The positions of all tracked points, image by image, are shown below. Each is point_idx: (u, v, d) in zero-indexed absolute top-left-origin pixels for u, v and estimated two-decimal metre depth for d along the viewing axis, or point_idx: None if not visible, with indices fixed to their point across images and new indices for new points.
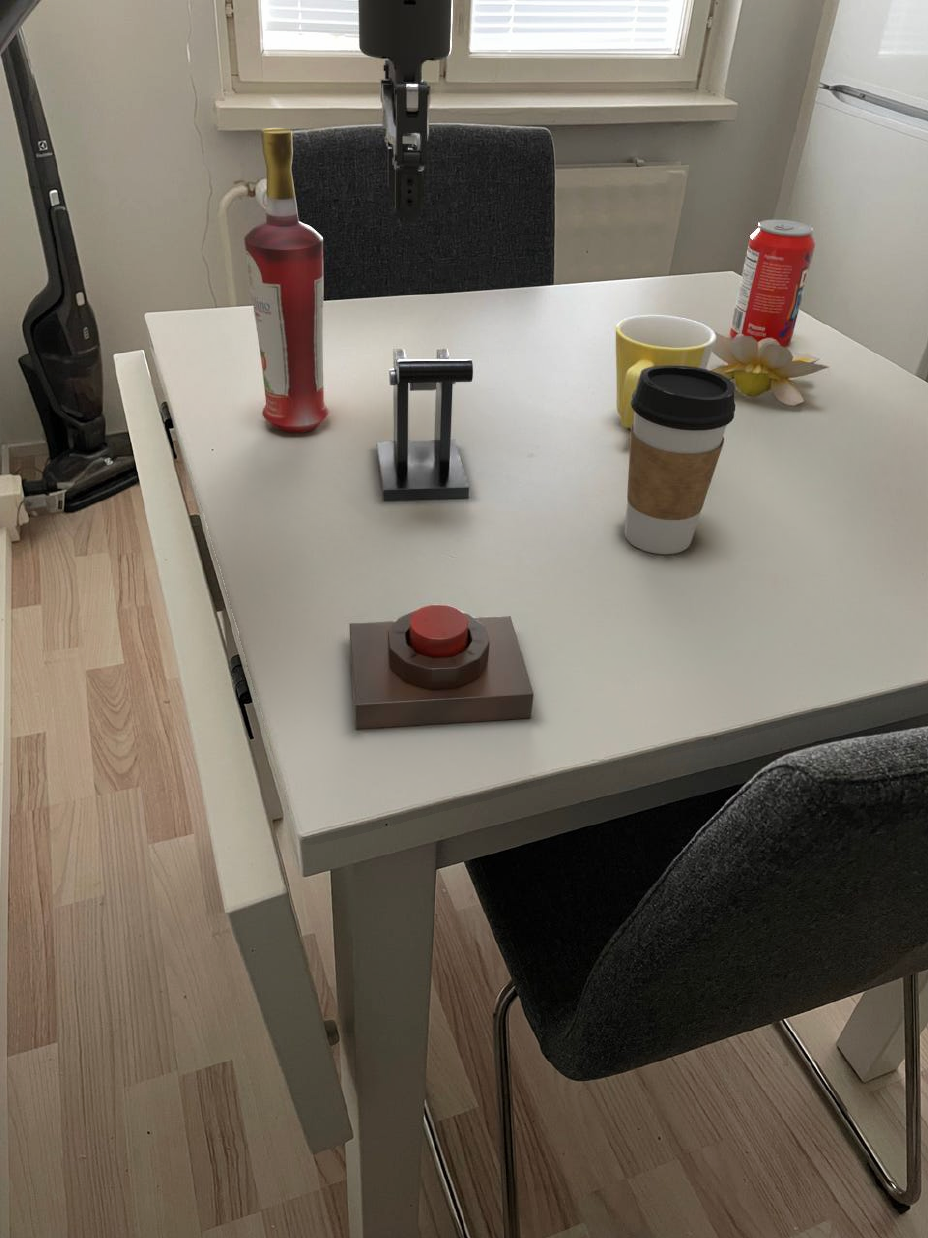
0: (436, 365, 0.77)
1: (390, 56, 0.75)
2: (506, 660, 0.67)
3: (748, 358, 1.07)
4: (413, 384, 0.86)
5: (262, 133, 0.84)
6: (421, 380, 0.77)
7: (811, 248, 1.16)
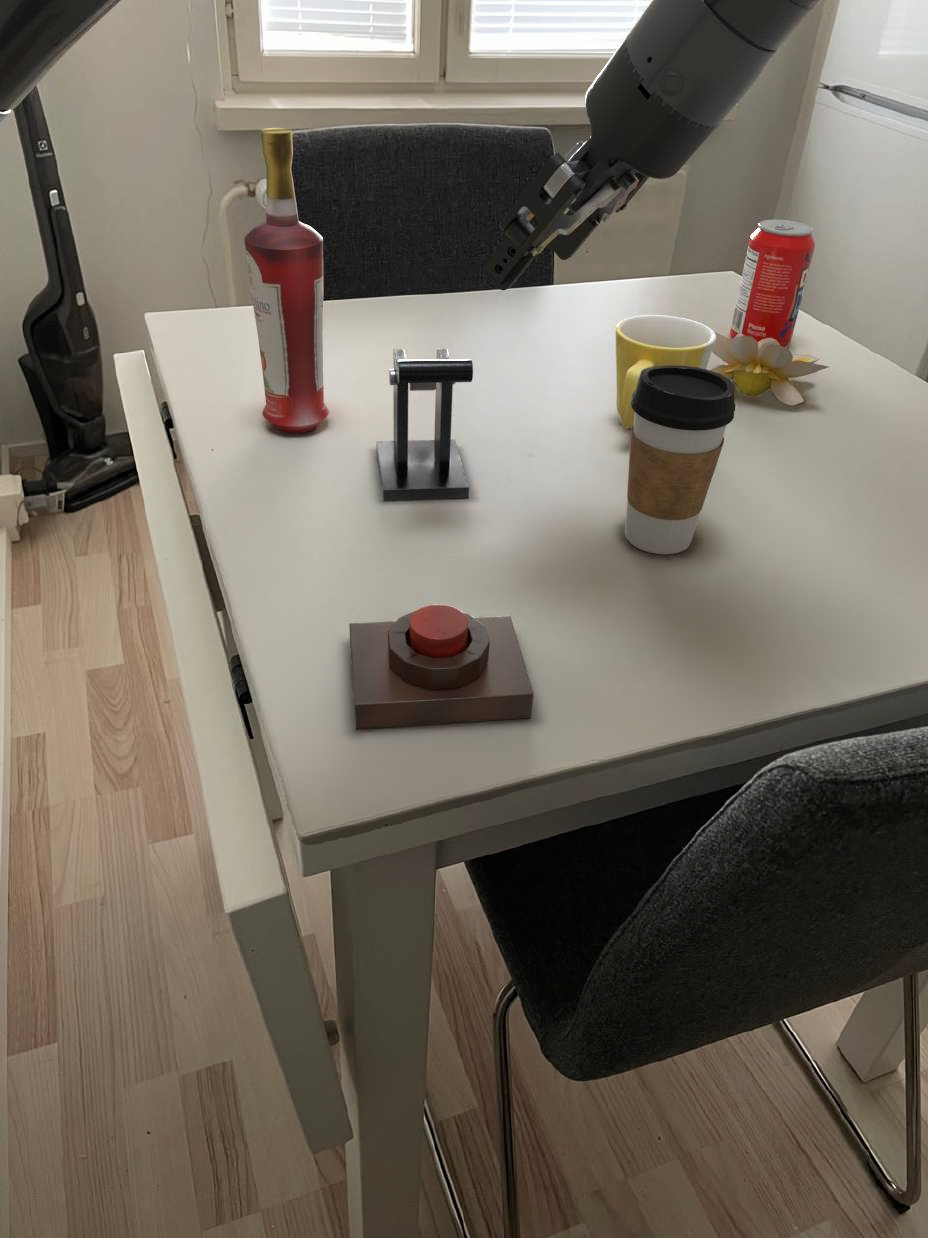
0: (436, 365, 0.77)
1: (590, 123, 0.58)
2: (506, 660, 0.67)
3: (748, 358, 1.07)
4: (413, 384, 0.86)
5: (262, 133, 0.84)
6: (421, 380, 0.77)
7: (811, 248, 1.16)
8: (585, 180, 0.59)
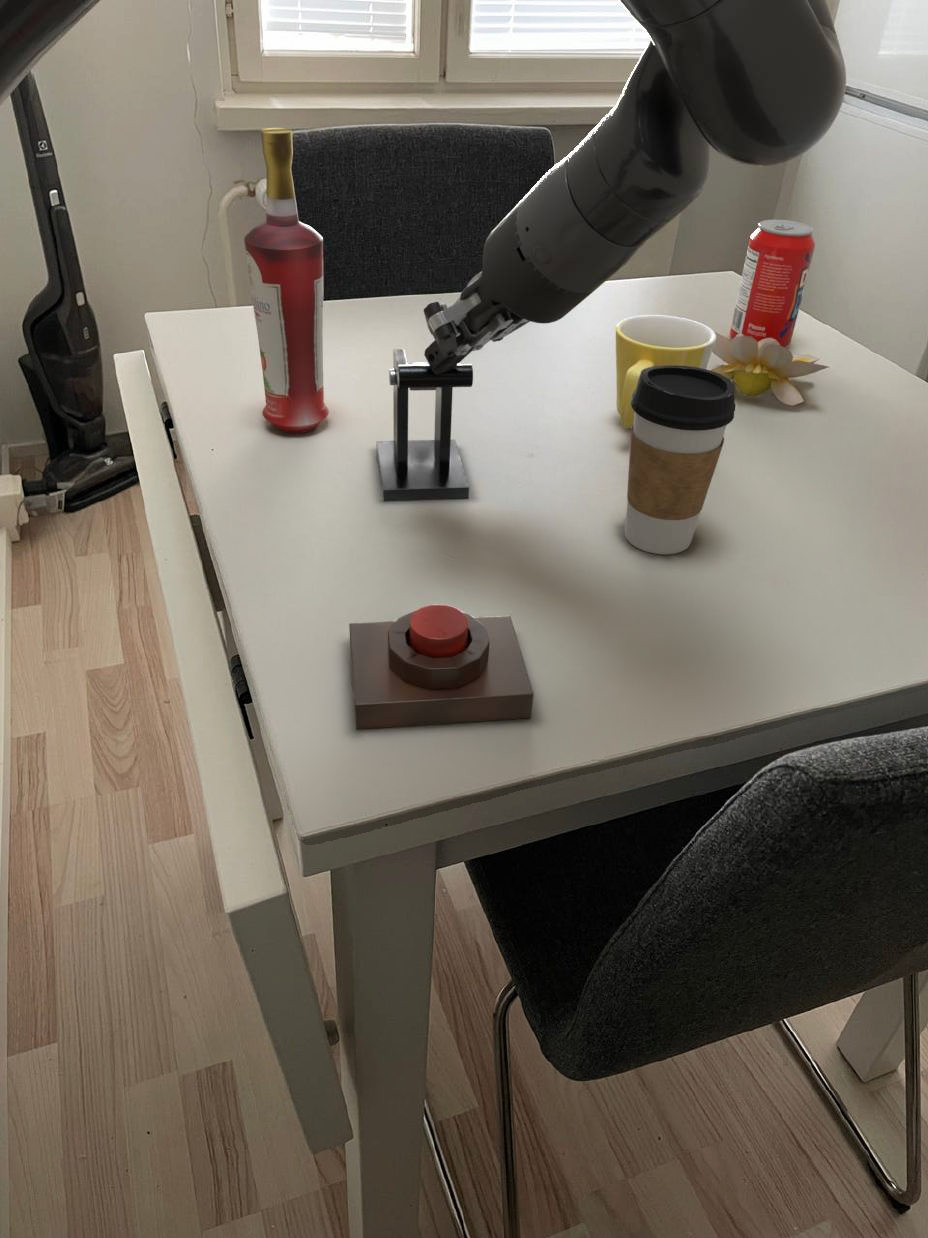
0: None
1: None
2: (506, 660, 0.67)
3: (748, 358, 1.07)
4: None
5: (262, 133, 0.84)
6: (421, 385, 0.77)
7: (811, 248, 1.16)
8: (469, 316, 0.66)
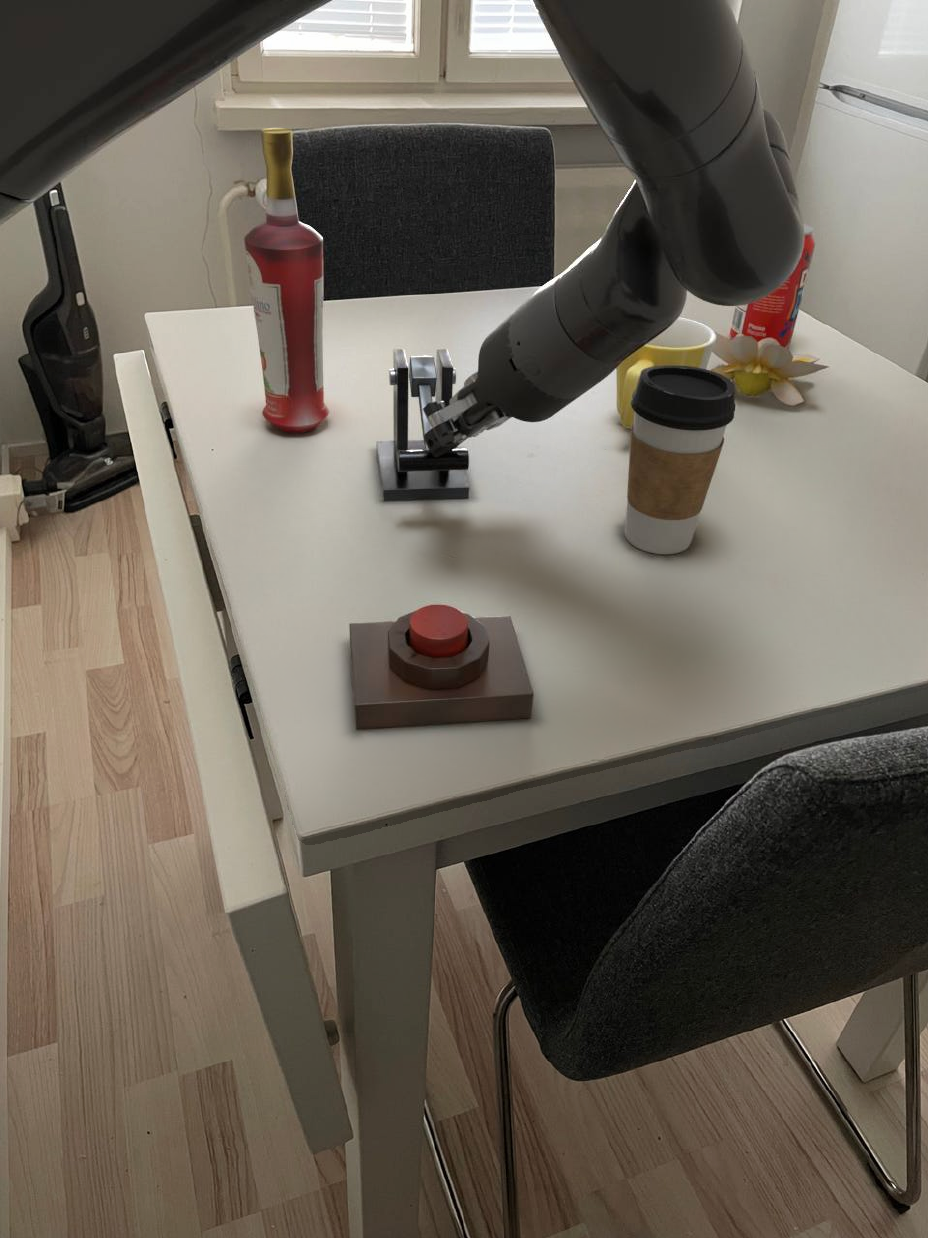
0: (434, 464, 0.81)
1: (478, 369, 0.69)
2: (506, 660, 0.67)
3: (748, 358, 1.07)
4: (412, 393, 0.87)
5: (262, 133, 0.84)
6: None
7: (811, 248, 1.16)
8: (465, 415, 0.71)
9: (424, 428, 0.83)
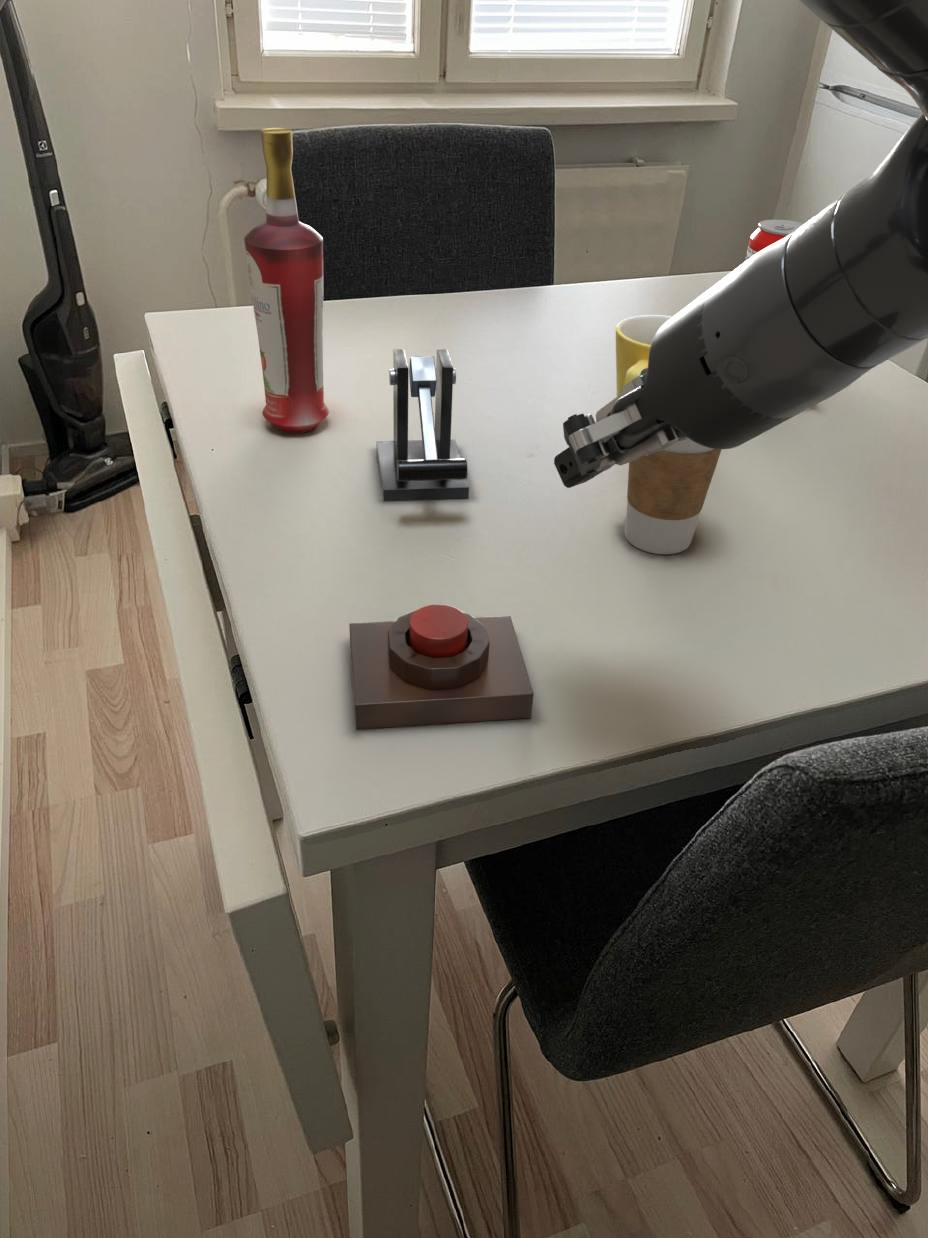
0: (433, 474, 0.83)
1: (647, 371, 0.48)
2: (506, 660, 0.67)
3: None
4: (412, 394, 0.87)
5: (262, 133, 0.84)
6: None
7: None
8: (622, 434, 0.51)
9: (423, 435, 0.84)
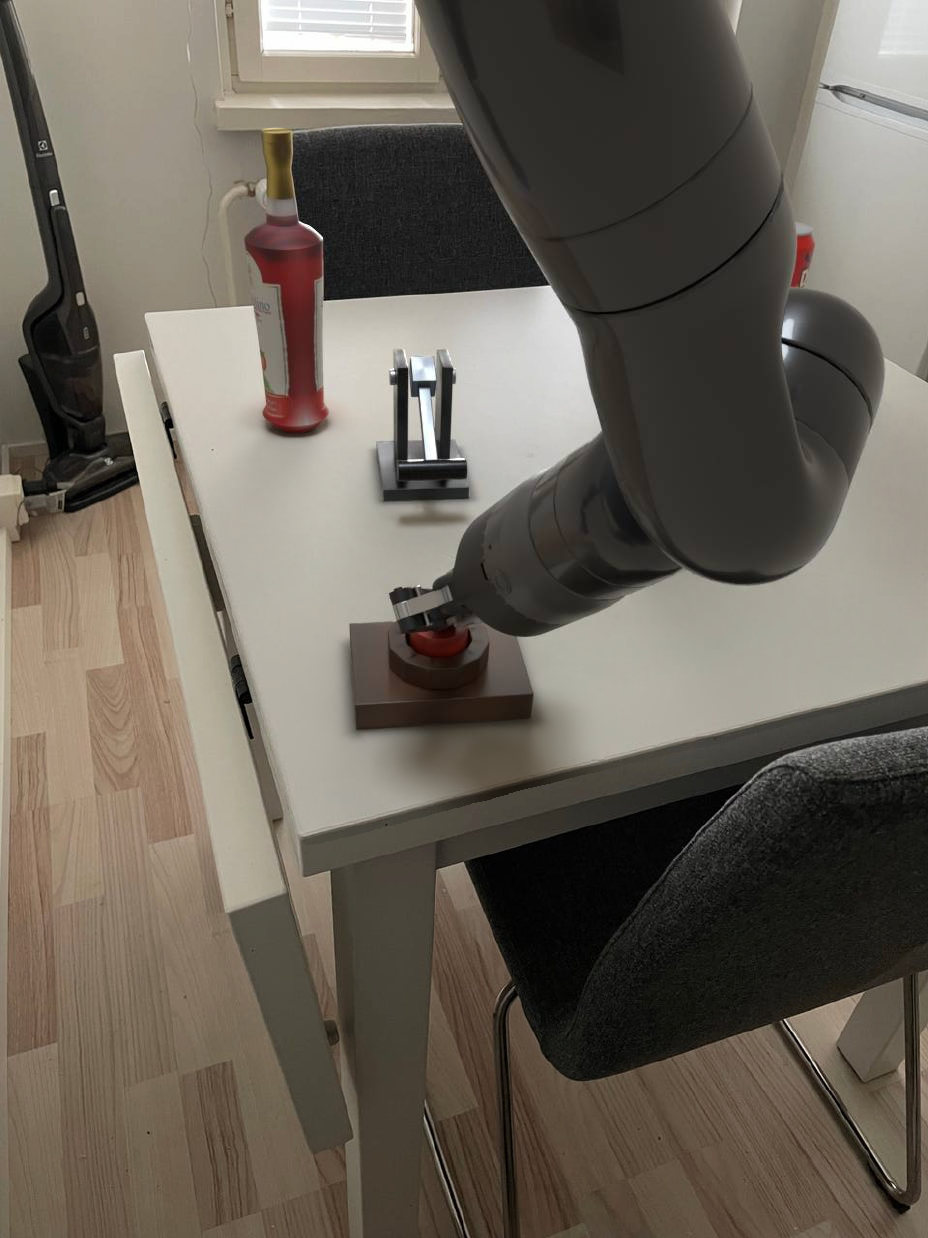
0: (433, 474, 0.83)
1: (455, 560, 0.52)
2: (506, 660, 0.67)
3: None
4: (412, 394, 0.87)
5: (262, 133, 0.84)
6: None
7: (811, 248, 1.16)
8: None
9: (423, 435, 0.84)
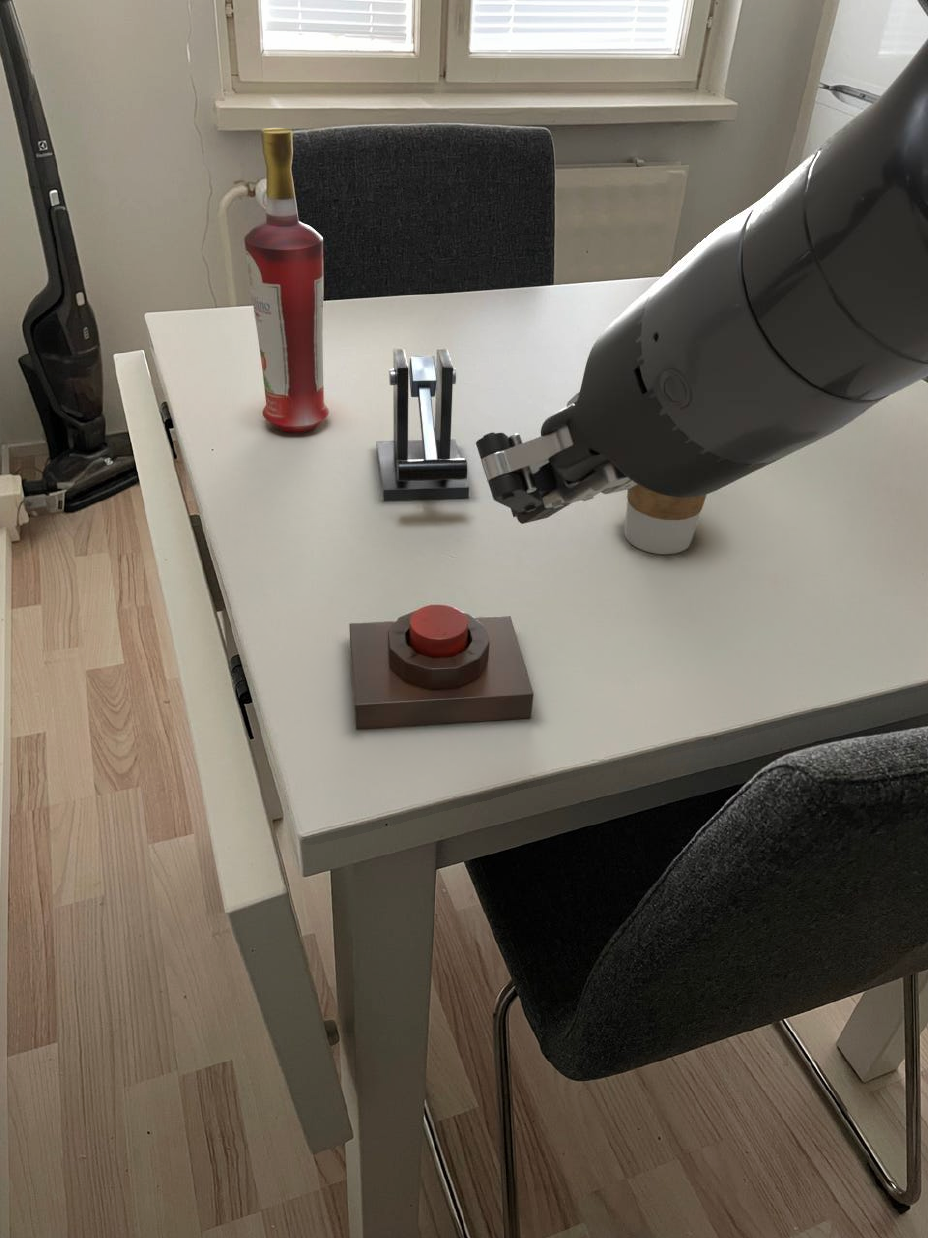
0: (433, 474, 0.83)
1: None
2: (506, 660, 0.67)
3: None
4: (412, 394, 0.87)
5: (262, 133, 0.84)
6: None
7: None
8: (552, 465, 0.38)
9: (423, 435, 0.84)
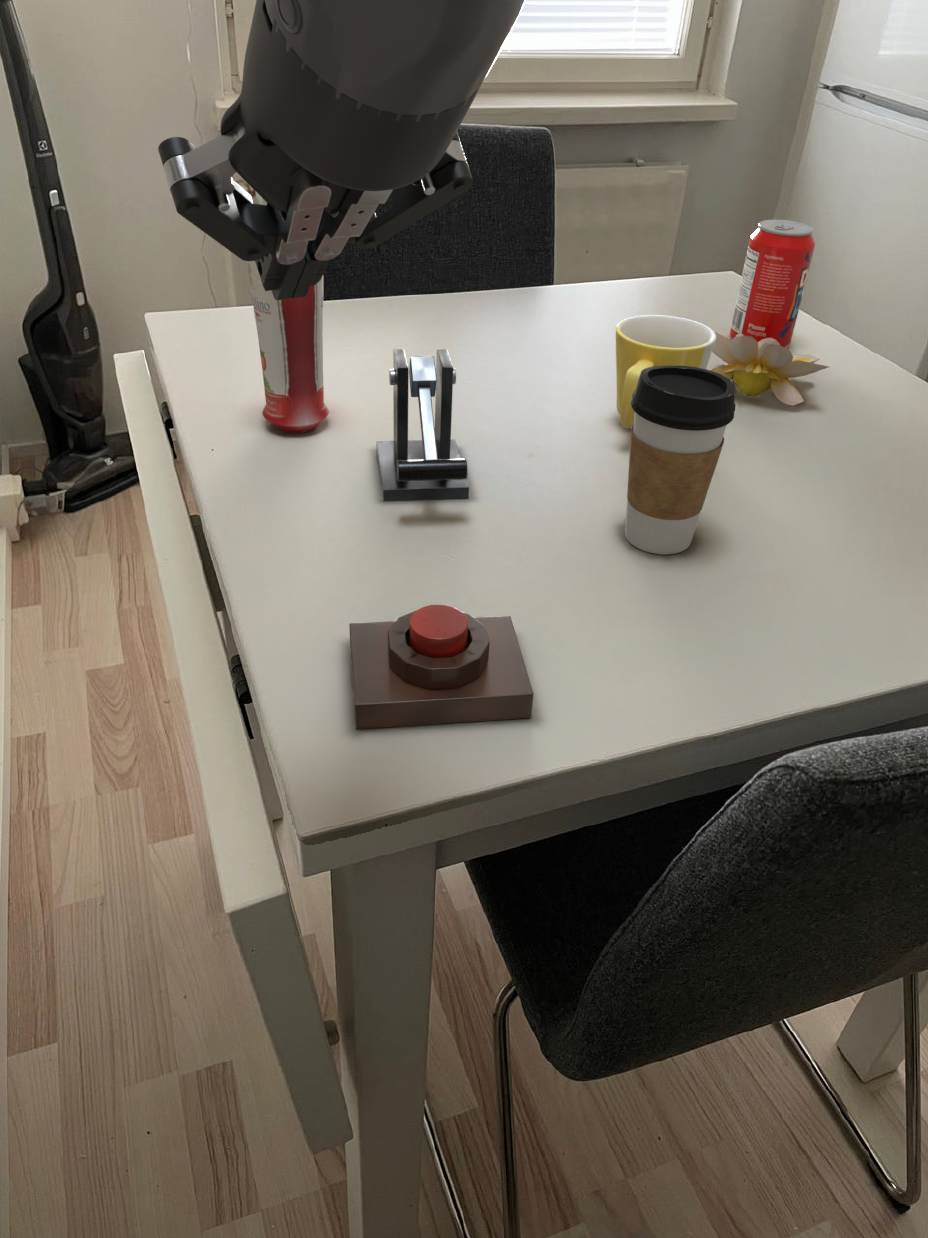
0: (433, 474, 0.83)
1: (245, 60, 0.32)
2: (506, 660, 0.67)
3: (748, 358, 1.07)
4: (412, 394, 0.87)
5: None
6: None
7: (811, 248, 1.16)
8: None
9: (423, 435, 0.84)
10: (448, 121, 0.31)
